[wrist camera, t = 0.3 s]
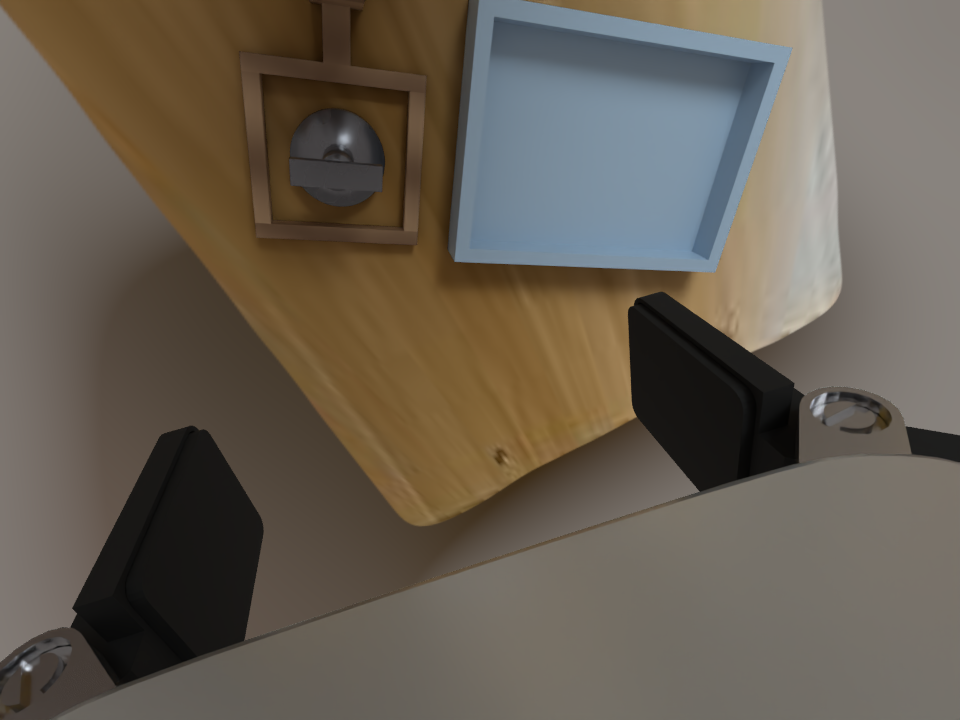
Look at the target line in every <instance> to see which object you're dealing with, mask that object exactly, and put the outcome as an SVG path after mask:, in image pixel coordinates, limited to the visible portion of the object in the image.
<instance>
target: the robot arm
mask: <svg viewBox="0 0 960 720" xmlns="http://www.w3.org/2000/svg"><path fill="white" fill-rule="evenodd" d="M628 325H629V348H630V370H631V393H632V406H633V409H634V412H635V414H636V416H637V417H638V419H639V420H640V421H641V422H642V423H643V425H644V426H645V427H646V428H647V429H648V431H649V432H650V433H651V434H652V435H653V436H654V438H655V439H656V440H657V441H658V442H659V444H660V445H661V446H662V447H663V448H664V450H665V451H666V452H667V453H668V454H669V455H670V457H671V458H672V459H673V460H674V461H675V463H676V464H677V465H678V466H679V467H680V469H681V470H682V471H683V472H684V473H685V474H686V476H687V477H688V478H689V479H690V481H692V483H693V484H694V485H695V486H696V488H697V489H698V490H699V491H700V492H698V493H695V494H691V495H688V496H685V497H682V498H678V499H675V500H672V501H669V502H666V503H663V504H659V505H656V506H653V507H650V508H647V509H644V510H641V511H638V512H635V513H631V514H628V515H625V516H622V517H619V518H616V519H613V520H610V521H606V522H603V523H601V524H597V525H594V526H591V527H588V528H585V529H582V530H578V531H575V532H572V533H569V534H566V535H563V536H560V537H557V538H554V539H551V540H548V541H545V542H541V543H538V544H535V545H532V546H529V547H526V548H523V549H520V550H517V551H514V552H511V553H508V554H505V555H502V556H499V557H495V558H493V559H490V560H486V561H483V562H480V563H477V564H474V565H471V566H468V567H465V568H462V569H459V570H456V571H453V572H450V573H447V574H444V575H441V576H437V577H434V578H431V579H429V580H426V581H422V582H419V583H416V584H413V585H410V586H407V587H404V588H401V589H398V590H395V591H392V592H389V593H386V594H383V595H380V596H377V597H374V598H371V599H368V600H365V601H362V602H359V603H356V604H353V605H350V606H347V607H344V608H341V609H338V610H335V611H332V612H329V613H326V614H323V615H320V616H317V617H314V618H311V619H308V620H305V621H302V622H299V623H296V624H293V625H290V626H287V627H284V628H281V629H278V630H275V631H272V632H269V633H266V634H263V635H260V636H257V637H254V638H251V639H248V640H245V641H244V639H245V634H246V628H247V622H248V617H249V611H250V606H251V600H252V595H253V589H254V583H255V578H256V572H257V567H258V561H259V555H260V550H261V543H262V539H263V523H262V520H261V517H260V515H259V514H258V512H257V510H256V509H255V507H254V506H253V504H252V502H251V500H250V499H249V497H248V496H247V494H246V492H245V491H244V489H243V487H242V486H241V484H240V482H239V481H238V479H237V478H236V476H235V474H234V473H233V471H232V470H231V468H230V466H229V465H228V463H227V461H226V460H225V458H224V456H223V455H222V453H221V451H220V450H219V448H218V447H217V445H216V443H215V442H214V440H213V438H212V437H211V435H210V434H209V433H208V431H206V430H200V431H199V430H198V429H197V428H196V427H194V426H189V427H185V428H181V429H178V430H175V431H171V432H167V433H164V434H162V435H161V436H160V437H159V439H158V441H157V443H156V445H155V447H154V449H153V451H152V453H151V455H150V457H149V459H148V461H147V463H146V465H145V467H144V468H143V470H142V473H141V474H140V476H139V478H138V480H137V482H136V484H135V486H134V488H133V490H132V492H131V494H130V496H129V498H128V500H127V502H126V504H125V506H124V508H123V510H122V512H121V514H120V516H119V518H118V519H117V522H116V523H115V525H114V528H113V529H112V531H111V533H110V535H109V537H108V539H107V541H106V543H105V545H104V547H103V549H102V551H101V553H100V555H99V557H98V559H97V561H96V563H95V565H94V567H93V568H92V571H91V573H90V575H89V576H88V578H87V580H86V582H85V584H84V586H83V588H82V590H81V592H80V594H79V596H78V598H77V600H76V602H75V604H74V606H73V608H72V609H73V610H74V611H75V612H76V613H77V615H76V617H75V619H74V621H73V623H72V625H71V627H70V628H66V627H62V628H58V629H54V630H50V631H47V632H45V633H43V634H41V635H38V636H36V637H34V638H32V639H31V640H29V641H28V642H26V643H24V644H23V645H21V646H20V647H18V648H17V649H15V650H14V651H13V652H12V653H11V654H9V655H8V656H7V657H6V658H5V659H4V660H2V661H1V662H0V720H960V435H954V434H948V433H942V432H936V431H930V430H924V429H918V428H912V427H906V426H905V422H904V418H903V416H902V414H901V412H900V410H899V409H898V408H897V407H896V406H895V405H893V404H892V403H891V402H890V401H888V400H886V399H885V398H883V397H881V396H879V395H877V394H874V393H871V392H868V391H865V390H862V389H856V388H850V387H834V386H832V387H825V388H819V389H816V390H814V391H811V392H809V393H807V394H806V395H803V394H802V393H800V392H799V391H797V390H796V389H795V388H794V383H793V382H792V381H791V380H789V379H788V378H786V377H785V376H783V375H782V374H781V373H779V372H778V371H776V370H775V369H773V368H772V367H770V366H769V365H768V364H766V363H765V362H763V361H762V360H760V359H759V358H757V357H756V356H755V355H753V354H752V353H750V352H749V351H748V350H746V349H745V348H743V347H742V346H740V345H739V344H737V343H736V342H735V341H733V340H732V339H730V338H729V337H727V336H726V335H725V334H723V333H722V332H720V331H719V330H717V329H716V328H714V327H713V326H712V325H710V324H709V323H707V322H706V321H704V320H703V319H702V318H700V317H699V316H697V315H696V314H694V313H693V312H692V311H690V310H689V309H687V308H686V307H684V306H683V305H681V304H680V303H679V302H677V301H676V300H674V299H673V298H671V297H670V296H669V295H667V294H666V293H664V292H658V293H654V294H651V295H647V296H644V297H640V298H637V299H636V300H635V303H634V306H632V307H630V308H629V310H628Z"/></svg>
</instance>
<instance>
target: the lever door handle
mask: <svg viewBox="0 0 960 720" xmlns="http://www.w3.org/2000/svg"><path fill="white" fill-rule="evenodd" d="M289 165H290V182H291V186H302V187H303V188H304V189H305V190H306V191H307V192H308V193H309V194H310V195H311V196H313V197H314V198H315V199H317V200H319V201H321V202H323V203H326V204H329V205H333V206H352V205H355V204H358V203H360V202H362V201H364V200H366V199H367V198H369V197H370V196H371V195H372V194H373V193H374V192H382V177H383V173H384V167H385V158H384V152H383V148H382V145H381V143H380V140H379V138H378V136H377V134H376V133H375V131H374V130H373V128H372V127H371V126H370V125H369V124H368V123H367V122H366V121H365V120H364V119H363V118H361V117H360V116H358V115H357V114H355V113H353V112H350V111H347V110H344V109H339V108H327V109H322V110H319V111H316V112H314V113H312V114H311V115H309V116H308V117H307V118H305V119H304V120H303V121H302V123H301V124H300V125H299V126H298V128H297V129H296V131H295V133H294V135H293V138H292V141H291V147H290V158H289Z"/></svg>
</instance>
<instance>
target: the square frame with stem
mask: <svg viewBox="0 0 960 720" xmlns="http://www.w3.org/2000/svg"><path fill="white" fill-rule="evenodd" d="M309 2H310V3H316V4H322V32H323V62H317V61H309V60H302V59H294V58H287V57H279V56H271V55H264V54H256V53H248V52H241V51H239V55H240V66H241V77H242V87H243V98H244V109H245V120H246V130H247V141H248V152H249V163H250V173H251V184H252V195H253V206H254V216H255V227H256V238H277V239H298V240H319V241H340V242H361V243H381V244H402V245H417V237H418V220H419V202H420V184H421V167H422V149H423V132H424V114H425V97H426V79H427V76H424V75H417V74H409V73H401V72H394V71H386V70H378V69H371V68H363V67H355V66H351V57H350V9H354V10H360V11H362V9H363V6H364V2H365V0H309ZM262 73H263V74H271V75H279V76H287V77H295V78H304V79H312V80H320V81H328V82H336V83H344V84H353V85H361V86H369V87H377V88H385V89H394V90H402V91H409V92H408V115H407V139H406V162H405V186H404V209H403V227H388V226H370V225H352V224H334V223H317V222H299V221H281V220H273V217H272V204H271V191H270V178H269V165H268V152H267V139H266V126H265V113H264V100H263V86H262Z"/></svg>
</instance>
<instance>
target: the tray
mask: <svg viewBox="0 0 960 720" xmlns="http://www.w3.org/2000/svg"><path fill="white" fill-rule="evenodd" d="M791 51H792V48H790V47H784V46H779V45H773V44H767V43H761V42H756V41H750V40H744V39H739V38H733V37H727V36H722V35H716V34H710V33H705V32H699V31H693V30H687V29H682V28H676V27H670V26H665V25H659V24H653V23H648V22H642V21H636V20H631V19H625V18H619V17H613V16H608V15H602V14H596V13H591V12H585V11H579V10H574V9H568V8H562V7H557V6H551V5H545V4H540V3H534V2H528V1H522V0H469V5H468V17H467V29H466V40H465V52H464V64H463V75H462V87H461V99H460V110H459V122H458V133H457V145H456V157H455V168H454V180H453V192H452V203H451V215H450V227H449V238H448V251H449V253H450V255H451V256H452V258H453V260H454V262H471V263H496V264H521V265H545V266H570V267H595V268H619V269H644V270H669V271H693V272H715V271H716V268H717V265H718V262H719V260H720V257H721V254H722V251H723V248H724V245H725V242H726V239H727V236H728V233H729V231H730V228H731V225H732V222H733V219H734V216H735V213H736V210H737V207H738V205H739V202H740V199H741V196H742V193H743V190H744V187H745V184H746V181H747V178H748V176H749V173H750V170H751V167H752V164H753V161H754V158H755V155H756V152H757V149H758V147H759V144H760V141H761V138H762V135H763V132H764V129H765V126H766V123H767V121H768V118H769V115H770V112H771V109H772V106H773V103H774V100H775V97H776V94H777V92H778V89H779V86H780V83H781V80H782V77H783V74H784V71H785V68H786V66H787V63H788V60H789V57H790V54H791Z"/></svg>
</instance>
